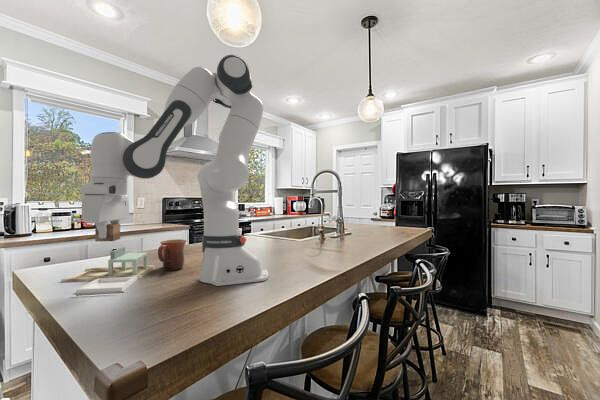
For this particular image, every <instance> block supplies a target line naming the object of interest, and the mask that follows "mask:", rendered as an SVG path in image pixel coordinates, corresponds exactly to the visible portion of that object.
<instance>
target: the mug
mask: <svg viewBox="0 0 600 400" xmlns="http://www.w3.org/2000/svg"><path fill="white" fill-rule="evenodd" d="M159 243H160V246H159V247H157V257H158V259H159V261H160V262H162V269H163V270H165V271H167V272H168V271H169V272H170V271H173V272H174V271H178V270H182V269H183V268H184V265H185V246H186V243H187V239H182V238H181V239H178V238H177V239H176V238H175V239H166V240H161V241H160V242H159Z"/></svg>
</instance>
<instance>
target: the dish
mask: <svg viewBox="0 0 600 400" xmlns="http://www.w3.org/2000/svg"><path fill="white" fill-rule="evenodd" d="M137 280H138V278H137V276H135V277H114V278H97V279H95V280H94V281H89V282H88V283H86V284H84V285H83V286H81V287H78V288H77V289H76V292H75V293H76V294H75V296H77V297H78V296H80V297H81V296H92V295H93V296H95V295H113V294H123V293H124V290H126V289H127V288H128V287H129V286H131V285H132V284H134V283H135V282H136V281H137Z"/></svg>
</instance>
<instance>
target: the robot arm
mask: <svg viewBox="0 0 600 400" xmlns="http://www.w3.org/2000/svg"><path fill="white" fill-rule="evenodd" d="M252 89H253V83H252V74H251V70H250V66H249V64H248V62H247V61H246V60H245V59H244V58H242V57H241V56H239V55H237V54H228V55H225V56H223V58H221V59H220V60H219V62H218V64H217V67H216V72H213V71H212V72H211V71H209V69H206V68H205V67H202V66H195V67H193V68H191V69H190V70H189V71H187V73H185V74H184V75H183V76H182V77H181V78H180V80H179V81H178V82H177V83H176V85H175V86H174V87H173V88H172V89H171V92H170V94H169V96H168V97H167V99H166V102H165V105H164V110H163V112H162V114H161V115H160V116H159V118H158V120H157V121H156V122H155V123H154V125H153V126H152V127H151V129H150V130H149V131H148V133H147V134H146V135H144V137H142V138H140V139H138V140H136V141H134V140H132V139H130V138H129V137H127V136H126V135H125V134H124V133H121V132H116V131H115V132H114V131H108V132H100V133H98V134H96V135H95V136H94V137H93V139H92V142H91V147H90V165H91V174H90V177H89V178H90V181H88V182H87V183H85V184H83V185H81V186H80V188H79V189H80V190H79V192H80V194H81V195H83V196H82V198H81V218H82V221H83V223H84V224H95V227H97V229H98V232H99V238H107V237H108V231H107V228H106V226H107V224H108V222H110V223H109V224H120V225H121V220H125V219H128V218H130V217H129V216H130V203H129V197H128V196H127V195H128V177H130V176H131V177H135V178H138V179H140V180H148V179H153V178H155V177H157V176H158V175H160V174H161V173H162V172H163V170H164V168H165V165H166V161H167V160H166V158H167V153H168V150H169V148H170V146H171V145H172V143H173V142H174V141H175V139H176V138H177V137H178V135H179V133H180V132H181V131H182V130H183V128H185V127H186V126H187V125H192V124H193V123H195V122H196V121H197V120H199V118H200V117H201V116H202V115H203V113H204V112H205V111H206V109H207V108H208V106H209V104H210V103H211V101H213V103H215V104H218V105H220V106H222V107H224V108H227V109H230V111H229V113H228V115H227V117H226V120H225V121H224V124H223V127H222V129H221V132H220V134H219V136H218V144H217V146H218V147H217V151H216V154H215V156H214V158H213V159H212V161H208V162H206V163H205V164H203V165H202V166H201V168H200V169H199V170H198V174H197V182H198V184H199V187H200V188H199V190H200V194H201V195H200V196H201V201H202V206H203V207H202V208H203V235H202V239H201V250H202V260H201V261H202V262H201V267H200V272H199V275H198V281H199V282H202V283H205V284H211V285H213V286H217V287H218V286H219V287H221V286H228V285H238V284H239V285H240V284H246V283H257V282H264V281H266V280H267V279H268V278H269V272H268V270H267V269H266V268H263V264H262V263H263V262H262V260H261V257H260V256H259V255H258V254H257V253H256V252H254V251H253V250H252V249H250V248H249V247H248V246H246V242H247V238H246V237H245V236H244V235H243V234H241V233H240V230H239V228H240V227H239V225H240V222H239V220H240V219H239V218H240V217H239V215H240V212H239V208H238V207H237V205H236V202H235V197H234V192H236V191H238V190H240V189H242V188H243V187H244V186H245V185H247V183H248V181H249V178H250V170H249V169H250V168H249V159H250V154H251V149H252V147H253V144H254V141H255V139H256V136H257V134H258V131H259V128H260V125H261V123H262V122H261V121H262V117H263V113H264V105H263V102H262V101H261V99H260V98H259V97H257V96H256V95H254V94H253V93H252V92H251V90H252Z"/></svg>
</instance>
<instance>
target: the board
mask: <svg viewBox="0 0 600 400" xmlns="http://www.w3.org/2000/svg"><path fill="white" fill-rule="evenodd" d="M155 267H156V265H154V264H153V265H148V269H144V265H137V275H133V265H132V266H127V265H126V270H122V266H113V276H108V266H107V267H87V268H85V269H84V271H83V272H80V273H78V274H76V275H74V276H70V277H67V278H66V277H65V278H61V280H60V282H61V283H73V282H92V281H94V280H95V279H97V278H114V277H135V276H137V279H142V278H143V277H145V275H147V274H148V273H149V272H151V271H152V270H154V269H155Z"/></svg>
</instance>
